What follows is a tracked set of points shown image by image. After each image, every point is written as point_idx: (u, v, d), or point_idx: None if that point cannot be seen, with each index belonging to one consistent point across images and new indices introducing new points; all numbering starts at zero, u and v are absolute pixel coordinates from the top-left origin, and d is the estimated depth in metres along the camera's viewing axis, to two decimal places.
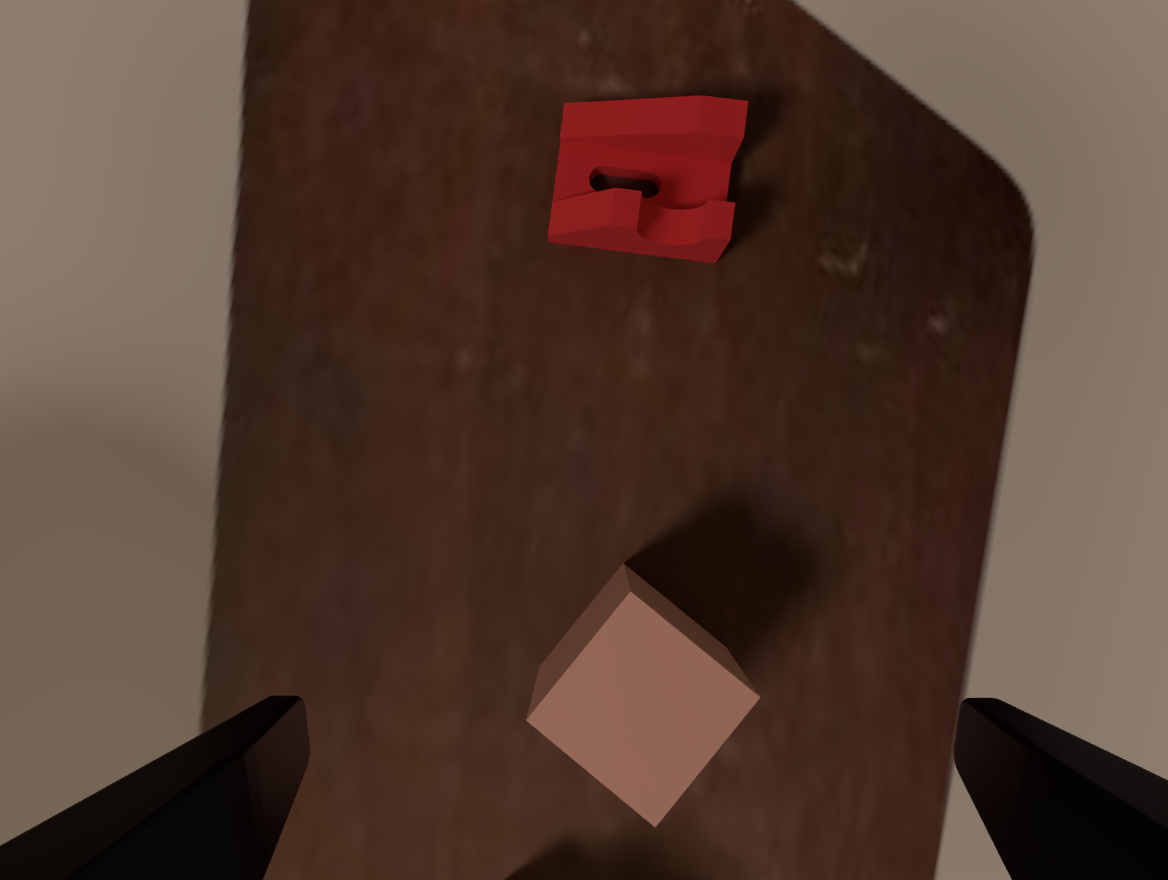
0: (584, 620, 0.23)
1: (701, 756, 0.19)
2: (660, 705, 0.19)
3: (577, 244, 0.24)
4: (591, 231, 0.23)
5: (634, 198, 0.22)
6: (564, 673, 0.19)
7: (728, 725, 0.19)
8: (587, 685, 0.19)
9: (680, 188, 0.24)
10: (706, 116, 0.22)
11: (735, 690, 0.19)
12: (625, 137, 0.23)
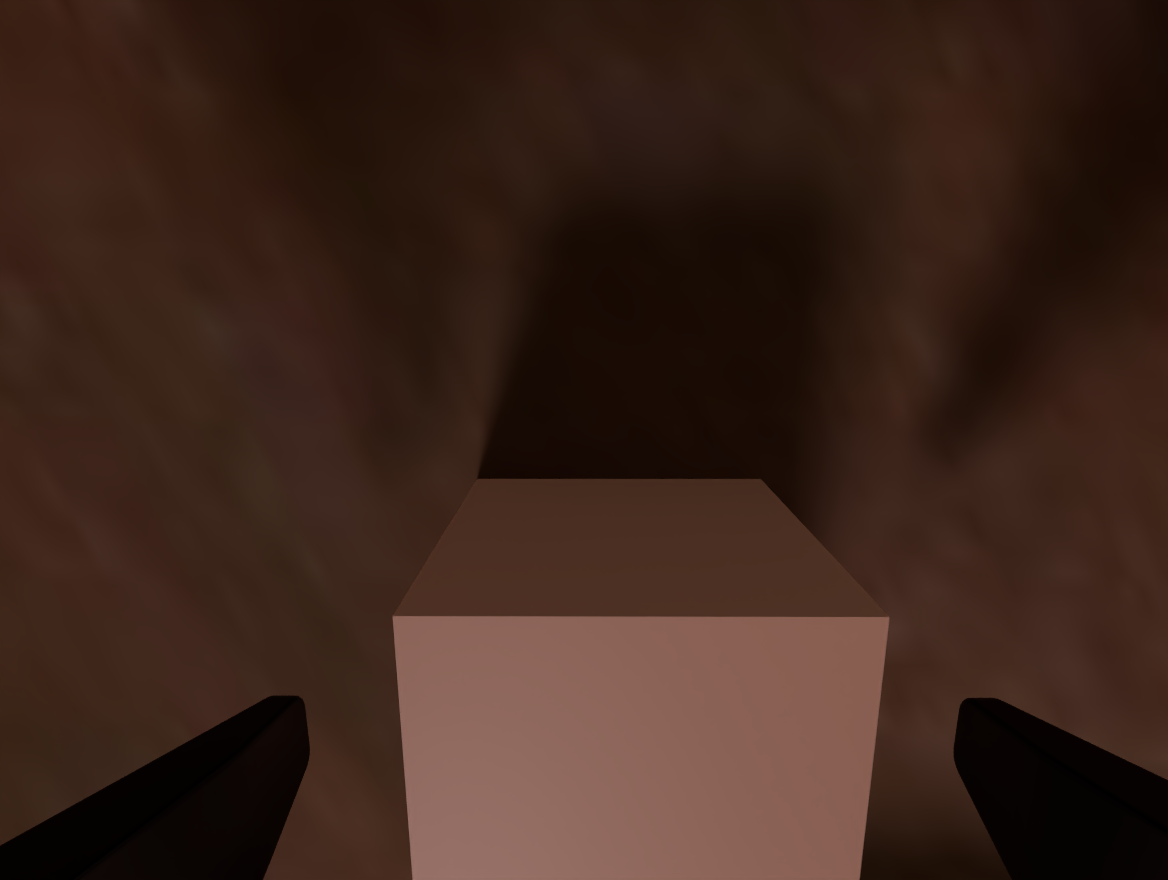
0: None
1: (842, 825, 0.07)
2: (668, 791, 0.07)
3: None
4: None
5: None
6: (413, 873, 0.07)
7: (856, 726, 0.07)
8: (480, 863, 0.07)
9: None
10: None
11: (815, 643, 0.06)
12: None
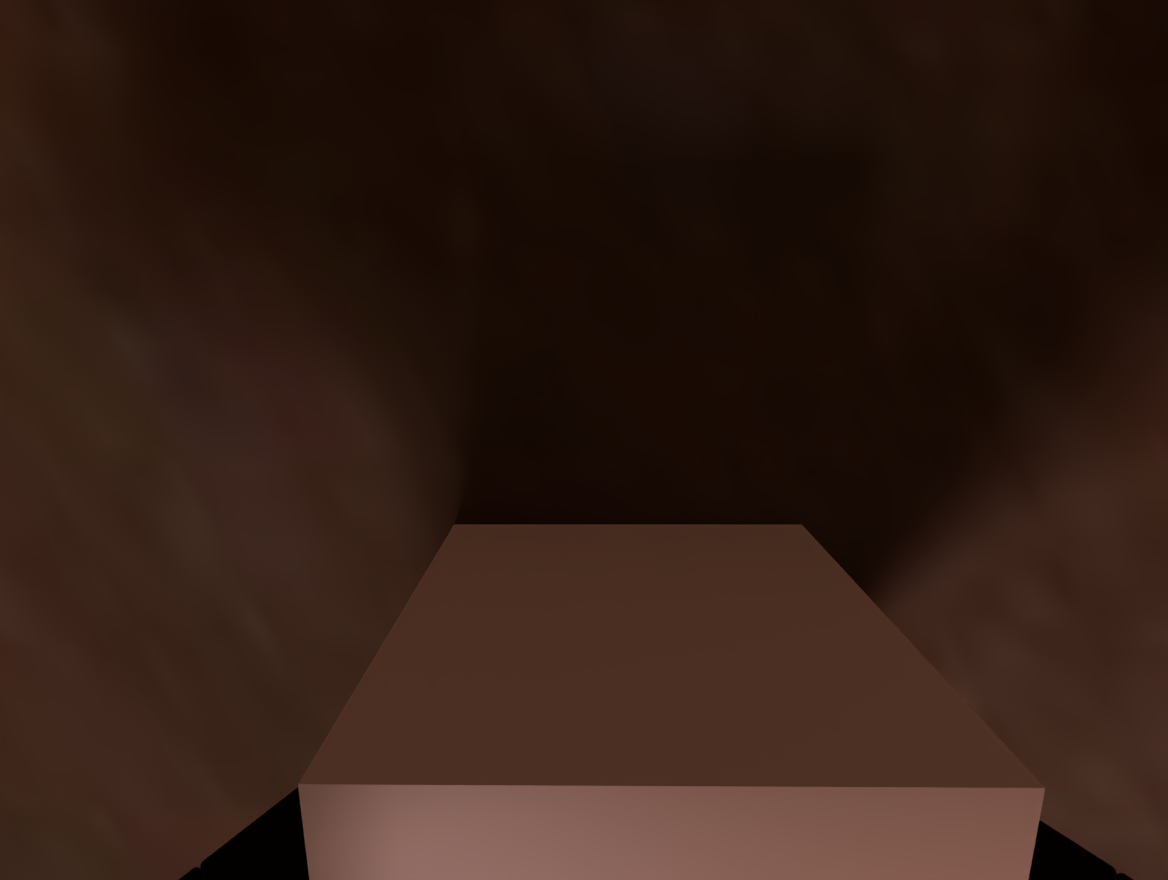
0: None
1: None
2: None
3: None
4: None
5: None
6: None
7: None
8: None
9: None
10: None
11: (931, 825, 0.04)
12: None
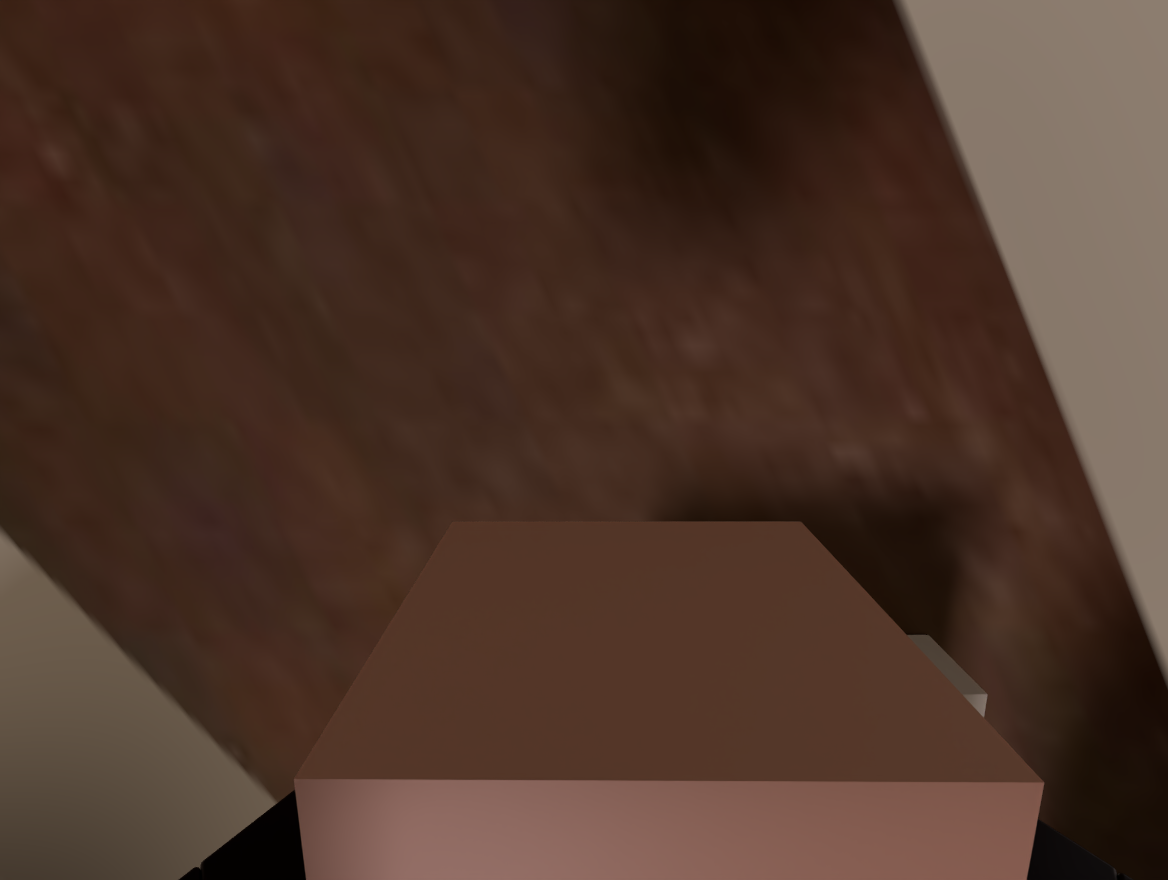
0: None
1: None
2: None
3: None
4: None
5: None
6: None
7: None
8: None
9: None
10: None
11: (931, 821, 0.04)
12: None
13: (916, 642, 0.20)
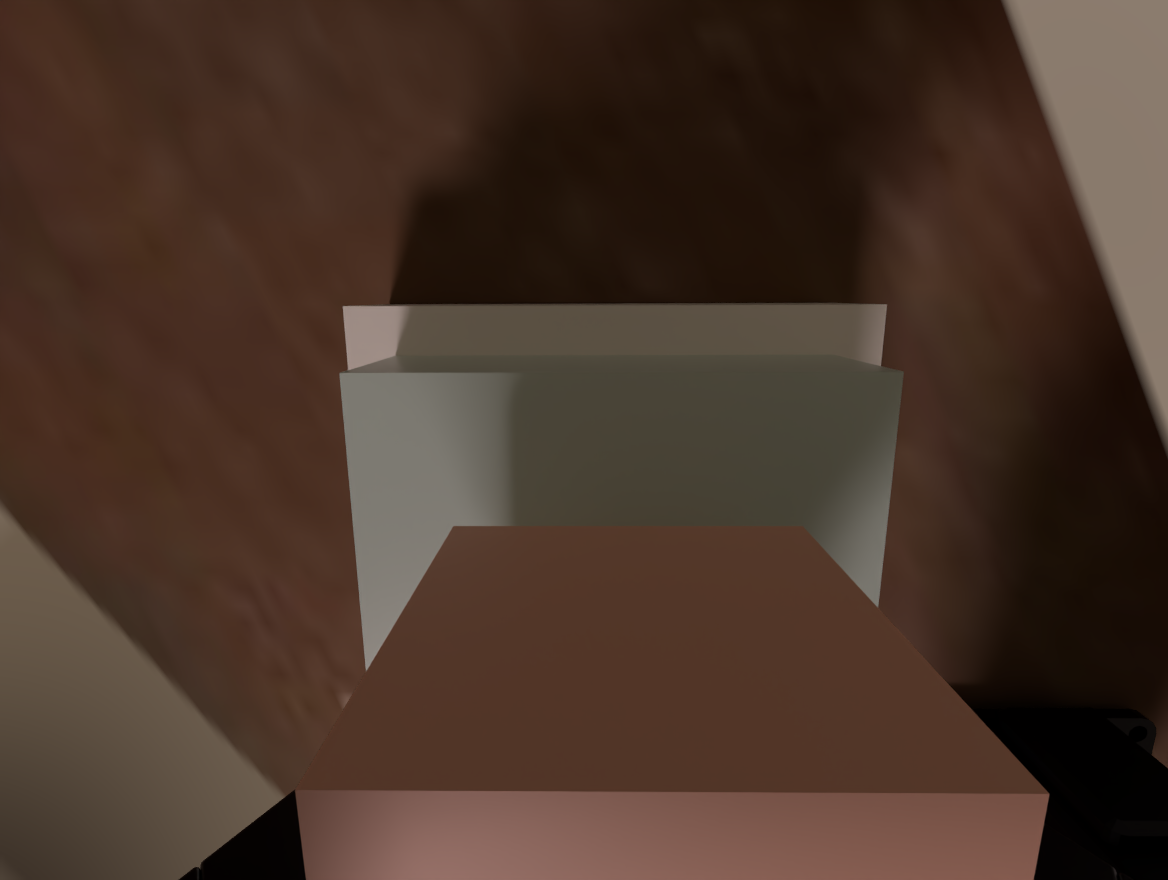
0: None
1: None
2: None
3: None
4: None
5: None
6: None
7: None
8: None
9: None
10: None
11: (933, 831, 0.04)
12: None
13: None
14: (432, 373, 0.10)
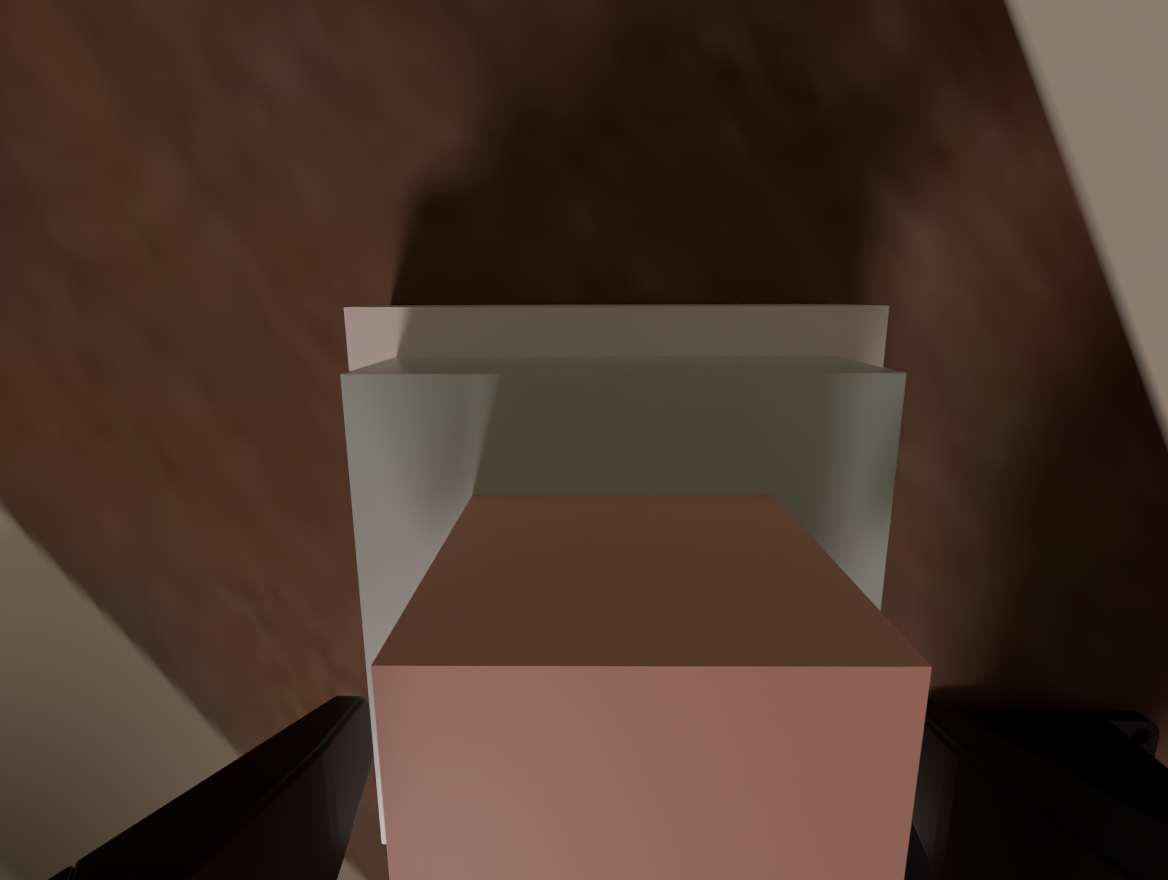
0: None
1: None
2: (681, 857, 0.06)
3: None
4: None
5: None
6: None
7: (893, 787, 0.06)
8: None
9: None
10: None
11: (848, 696, 0.06)
12: None
13: None
14: (433, 374, 0.10)
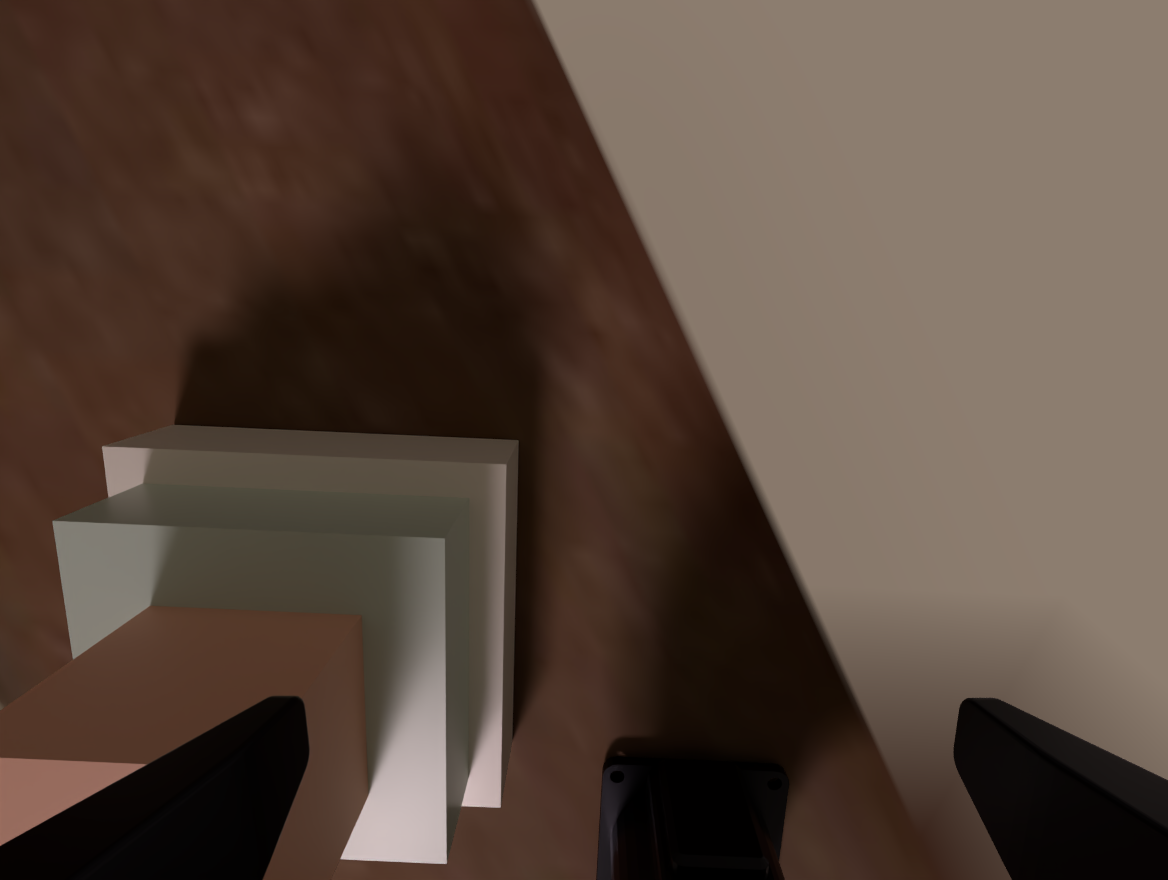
0: None
1: None
2: None
3: None
4: None
5: None
6: None
7: None
8: None
9: None
10: None
11: None
12: None
13: (497, 442, 0.20)
14: (117, 524, 0.15)
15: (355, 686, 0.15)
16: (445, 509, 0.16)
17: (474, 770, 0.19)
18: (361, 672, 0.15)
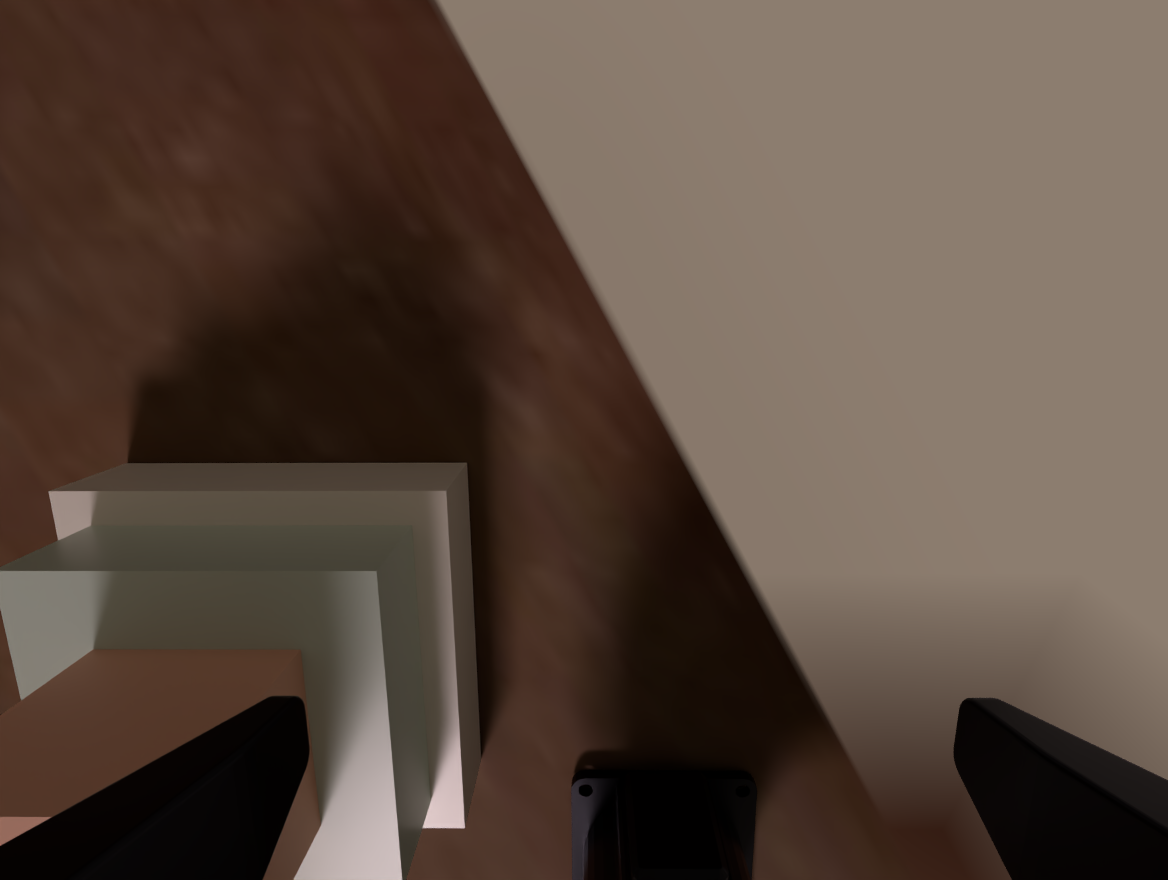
0: None
1: None
2: None
3: None
4: None
5: None
6: None
7: None
8: None
9: None
10: None
11: None
12: None
13: (445, 466, 0.20)
14: (55, 571, 0.15)
15: None
16: (385, 539, 0.17)
17: (436, 792, 0.20)
18: None
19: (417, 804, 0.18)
